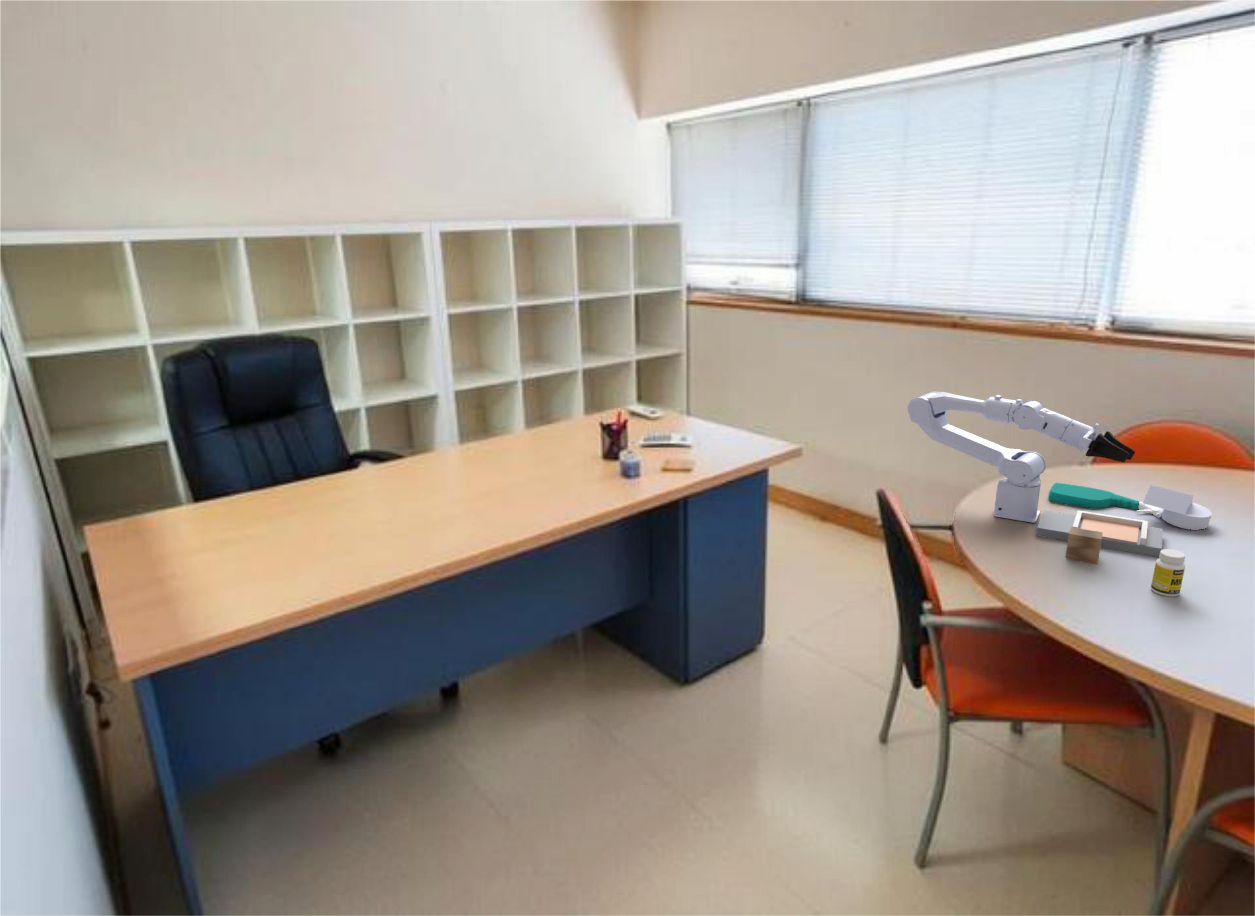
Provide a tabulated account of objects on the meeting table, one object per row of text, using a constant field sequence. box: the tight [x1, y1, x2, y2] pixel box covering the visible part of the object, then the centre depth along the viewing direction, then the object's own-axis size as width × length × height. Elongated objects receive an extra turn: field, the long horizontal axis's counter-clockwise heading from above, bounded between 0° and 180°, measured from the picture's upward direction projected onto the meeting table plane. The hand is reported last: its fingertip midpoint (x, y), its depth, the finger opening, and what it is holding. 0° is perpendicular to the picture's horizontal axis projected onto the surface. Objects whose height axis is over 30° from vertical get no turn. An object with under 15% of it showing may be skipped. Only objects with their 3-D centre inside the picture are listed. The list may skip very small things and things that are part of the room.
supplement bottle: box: [1150, 548, 1186, 598], centre depth 147 cm, size 5×5×8 cm
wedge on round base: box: [1142, 484, 1213, 531], centre depth 177 cm, size 9×7×13 cm
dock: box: [1035, 509, 1164, 557], centre depth 172 cm, size 24×12×4 cm, turn 55°
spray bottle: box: [1048, 482, 1164, 519], centre depth 190 cm, size 3×11×24 cm
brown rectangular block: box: [1065, 527, 1103, 565], centre depth 162 cm, size 6×4×6 cm, turn 55°
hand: (1130, 457), depth 165 cm, fingers open, 7 cm apart
